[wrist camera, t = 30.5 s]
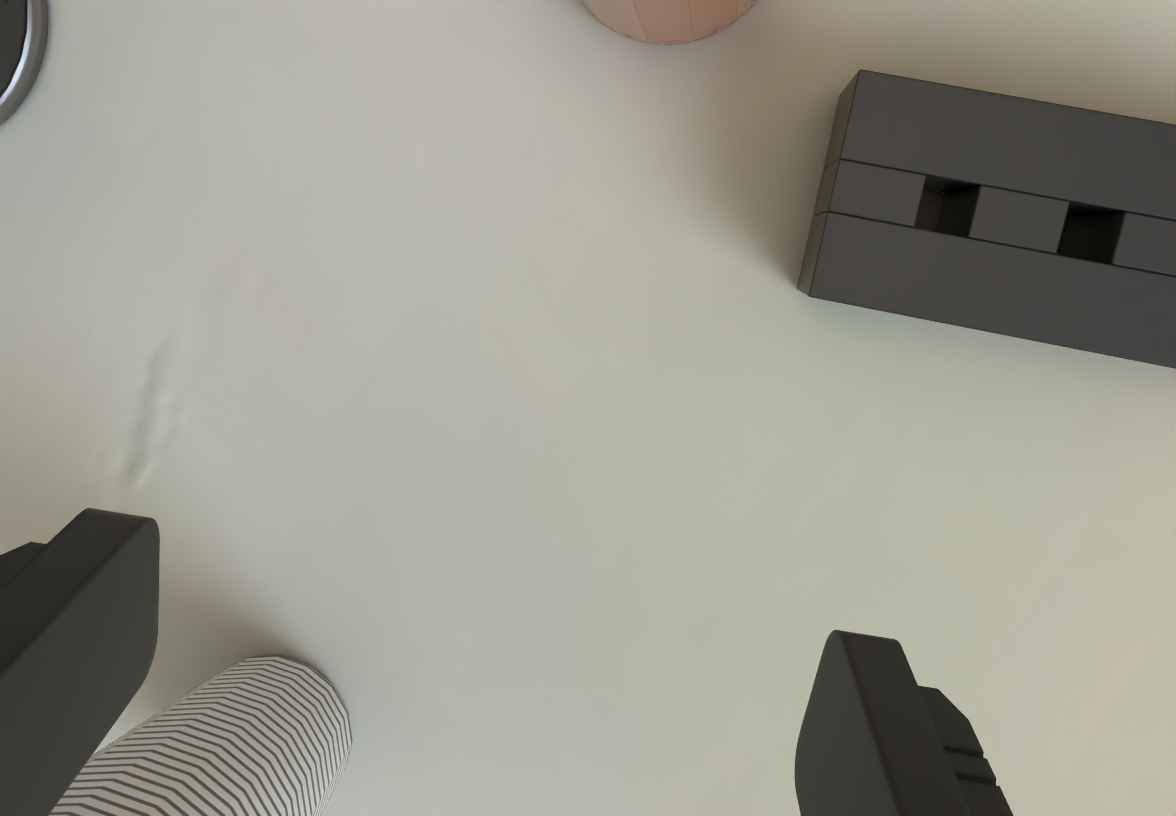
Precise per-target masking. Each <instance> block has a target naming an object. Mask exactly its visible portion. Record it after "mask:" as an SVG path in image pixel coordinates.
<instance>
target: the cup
mask: <svg viewBox="0 0 1176 816" xmlns="http://www.w3.org/2000/svg"><path fill="white" fill-rule="evenodd" d="M351 744H352V736H351V729H350V722H349V715H348V710H347V709H346V707H345V705H344V703H343V702H342V700H341V698H340V696H339V695H338V693H337V691H336V689H335V688H334V686H333V684H332V683H330V682H329V681H328V680H327V679H325V678H324V677H323V676H322V675H321V674H319V673H318V672H317V671H316V670H315V669H313V668H312V667H311V666H310V665H307V664H304V663H301V662H298V661H295V660H292V659H289V658H286V657H283V656H280V655H277V656H259V657H249V658H247V659H245V660H243V661H241V662H239V663H237V664H235V665H233V666H231V667H229V668H227V669H225V670H224V671H222V672H221V673H219V674H217V675H216V676H214V677H213V678H211V679H210V680H208V681H207V682H205V683H203V684H202V685H200V686H199V687H197V688H196V689H194V690H193V691H191V692H189V693H188V694H186V695H185V696H183V697H182V698H180V699H179V700H177V701H176V702H174V703H172V704H171V705H169V706H168V707H166V708H165V709H163V710H162V711H160V712H158V713H157V714H155V715H154V716H152V717H151V718H149V719H148V720H146V721H144V722H143V723H141V724H140V725H138V726H137V727H135V728H134V729H132V730H131V731H129V732H127V733H126V734H124V735H123V736H121V737H120V738H118V739H117V740H115V741H113V742H112V743H110V744H109V745H107V746H106V747H104V748H103V749H101V750H100V751H98V752H96V753H95V754H93V755H92V756H91V757H90V758H89V760H88V761H87V763H86V764H85V765H84V767H83V768H82V770H81V771H80V772H79V774H78V775H77V777H76V778H75V779H74V781H73V782H72V784H71V785H70V786H69V788H68V789H67V791H66V792H65V793H64V795H63V796H62V798H61V799H60V800H59V802H58V803H57V805H56V806H55V807H54V809H53V810H52V812H51V813H50V814H49V816H320V815H321V813H322V811H323V809H324V807H325V806H326V804H327V802H328V800H329V798H330V796H331V794H332V792H333V790H334V788H335V787H336V785H337V783H338V781H339V779H340V777H341V775H342V773H343V771H344V769H345V766H346V763H347V759H348V755H349V752H350V748H351Z"/></svg>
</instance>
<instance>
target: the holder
mask: <svg viewBox="0 0 1176 816" xmlns="http://www.w3.org/2000/svg"><path fill="white" fill-rule="evenodd" d="M923 189H927V190H932V191H938V192H943V193H945V195H944V198H943V202H942V206H941V211H940V215H939V219H938V223H937V227H936V231H931V230H925V229H920V228H915V227H914V226H915V222H916V218H917V214H918V209H919V205H920V201H921V197H922V193H923ZM1066 215H1068V216H1070V217H1069V218H1068V222H1067V226H1066V230H1065V234H1064V237H1063V241H1062V245H1061V249H1060V253H1059V255H1058V254H1055V253H1056V252H1057V249H1058V245H1059V241H1060V237H1061V234H1062V230H1063V226H1064V222H1065V218H1066ZM797 290H799V291H801V292H802V293H804V294H806V295H808V296H809V297H813V298H818V299H823V300H828V301H833V302H838V303H843V304H849V305H854V306H859V307H864V308H869V309H874V310H879V311H884V312H889V313H895V314H900V315H905V316H910V317H915V318H920V319H925V320H930V321H935V322H941V323H946V324H951V325H956V326H961V327H966V328H971V329H976V330H981V331H986V332H992V333H997V334H1002V335H1007V336H1012V337H1017V338H1022V339H1027V340H1032V341H1038V342H1043V343H1048V344H1053V345H1058V346H1063V347H1068V348H1073V349H1078V350H1083V351H1089V352H1094V353H1099V354H1104V355H1109V356H1114V357H1119V358H1124V359H1129V360H1135V361H1140V362H1145V363H1150V364H1155V365H1160V366H1165V367H1170V368H1175V369H1176V125H1175V124H1169V123H1163V122H1158V121H1152V120H1146V119H1140V118H1135V117H1129V116H1123V115H1118V114H1112V113H1106V112H1101V111H1095V110H1089V109H1083V108H1078V107H1072V106H1066V105H1061V104H1055V103H1049V102H1044V101H1038V100H1032V99H1026V98H1021V97H1015V96H1009V95H1004V94H998V93H992V92H987V91H981V90H975V89H969V88H964V87H958V86H952V85H947V84H941V83H935V82H930V81H924V80H918V79H912V78H907V77H901V76H895V75H890V74H884V73H878V72H873V71H867V70H859V71H858V72H857V74H856V75H855V76H854V78H853V79H852V80H851V81H850V83H849V84H848V85H847V87H846V88H845V89H844V90H843V92H842V93H841V94H840V97H839V101H838V106H837V110H836V115H835V119H834V124H833V128H832V133H831V137H830V142H829V146H828V151H827V155H826V160H825V164H824V171H823V173H822V178H821V182H820V187H819V191H818V196H817V200H816V205H815V209H814V216H813V218H812V223H811V227H810V232H809V236H808V240H807V245H806V249H805V254H804V258H803V263H802V267H801V272H800V276H799V281H798V285H797Z"/></svg>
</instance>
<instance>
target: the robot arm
mask: <svg viewBox="0 0 1176 816" xmlns="http://www.w3.org/2000/svg"><path fill="white" fill-rule="evenodd" d="M47 34H48V4H47V0H0V124H2V123H3V122H4V121H5V120H6V119H8V118H9V117H10V116H11V115H12V114H13V113H14V112H15V110H16V109H17V108H18V107H19V106H20V104H21V103H22V102H23V100H24V99H25V97H26V96H27V94H28V93H29V91H30V89H31V87H32V86H33V84H34V82H35V79H36V77H37V75H38V72H39V70H40V67H41V64H42V60H43V57H44V52H45V48H46V42H47ZM159 546H160V538H159V528H158V525H157V523H156V521H155V520H154V519H152V518H148V517H142V516H136V515H129V514H123V513H117V512H111V511H105V510H98V509H92V508H87V509H85V510H83V511H82V512H81V513H79V514H78V515H77V516H76V517H75V518H74V519H73V520H72V521H71V522H70V523H69V524H68V525H67V526H65V527H64V528H63V529H62V530H61V531H60V532H59V533H58V534H57V535H56V536H55V537H54V538H53V539H52V540H50V541H49V542H48V543H47V544H41V543H35V542H29V543H27V544H25V545H23V546H20V547H18V548H16V549H14V550H11V551H9V552H7V553H5V554H2V555H0V816H49V814H50V813H51V812H52V810H53V809H54V807H55V806H56V805H57V803H58V802H59V800H60V799H61V798H62V796H63V795H64V793H65V792H66V791H67V789H68V788H69V786H70V785H71V784H72V782H73V781H74V779H75V778H76V777H77V775H78V774H79V772H80V771H81V770H82V768H83V767H84V765H85V764H86V763H87V761H88V760H89V758H90V757H91V756H92V754H93V753H94V751H95V750H96V749H97V747H98V746H99V744H100V743H101V742H102V740H103V739H104V737H105V736H106V735H107V733H108V732H109V730H110V729H111V728H112V726H113V725H114V723H115V722H116V721H117V719H118V718H119V716H120V715H121V714H122V712H123V711H124V709H125V708H126V707H127V705H128V704H129V702H130V701H131V699H132V698H133V697H134V695H135V694H136V692H137V691H138V690H139V688H140V687H141V685H142V684H143V682H144V680H145V678H146V676H147V674H148V671H149V669H150V666H151V663H152V660H153V657H154V653H155V649H156V643H157V636H158V602H159ZM983 753H984V752H983V750H982V748H981V745H980V743H979V741H978V739H977V737H976V735H975V733H974V730H973V728H972V726H971V724H970V722H969V720H968V719H967V718H966V717H965V716H964V715H963V714H962V713H961V712H960V711H959V710H958V709H957V708H956V707H955V706H954V705H953V704H952V703H951V702H950V701H949V700H948V699H947V698H946V697H945V696H944V695H943V694H942V692H941V691H940V690H939V689H935V688H929V687H923V686H918V685H917V683H916V680H915V678H914V675H913V673H912V671H911V668H910V666H909V663H908V661H907V659H906V656H905V654H904V651H903V649H902V647H901V645H900V643H899V642H898V641H897V640H895V639H889V638H883V637H877V636H871V635H865V634H858V633H852V632H846V631H840V630H834V631H832V632H831V634H830V635H829V637H828V638H827V641H826V643H825V646H824V649H823V653H822V656H821V660H820V663H819V667H818V671H817V674H816V678H815V681H814V685H813V688H812V692H811V695H810V699H809V702H808V706H807V709H806V713H805V716H804V720H803V723H802V727H801V730H800V734H799V738H798V743H797V749H796V757H795V788H796V794H797V799H798V803H799V808H800V813H801V816H1013V814H1012V812H1011V810H1010V807H1009V805H1008V803H1007V801H1006V799H1005V797H1004V795H1003V792H1002V790H1001V788H1000V786H996V777H995V775H994V773H993V771H992V769H991V767H990V765H989V763H988V760H987V759H985V758H983Z"/></svg>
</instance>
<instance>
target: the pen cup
mask: <svg viewBox="0 0 1176 816" xmlns="http://www.w3.org/2000/svg"><path fill="white" fill-rule="evenodd" d="M580 1H581V2H582V4H583V5H584V6H585V7H586V8H587V9H588V10H589V11H590V12H591V14H592V15H593V16H595V17H596V18H597V19H598V20H599V21H601V22H602V23H603V24H604V25H606V26H607V27H609V28H611V29H612V30H614V31H615V32H617V33H620V34H622V35H624V36H626V37H628V38H631V39H635V40H638V41H641V42H646V43H653V44H680V43H687V42H691V41H695V40H699V39H702V38H705V37H707V36H710V35H712V34H715V33H716V32H718V31H720V30H722V29H724V28H725V27H727V26H729V25H730V24H731V23H733V22H734V21H735V20H737V19H738V18H739V17H741V16H742V15H743V14H744V13H745V12H746V11H747V10H748V9H749V8H750V7H751V6H752V5H753V4H754V2H755V1H756V0H580Z"/></svg>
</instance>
